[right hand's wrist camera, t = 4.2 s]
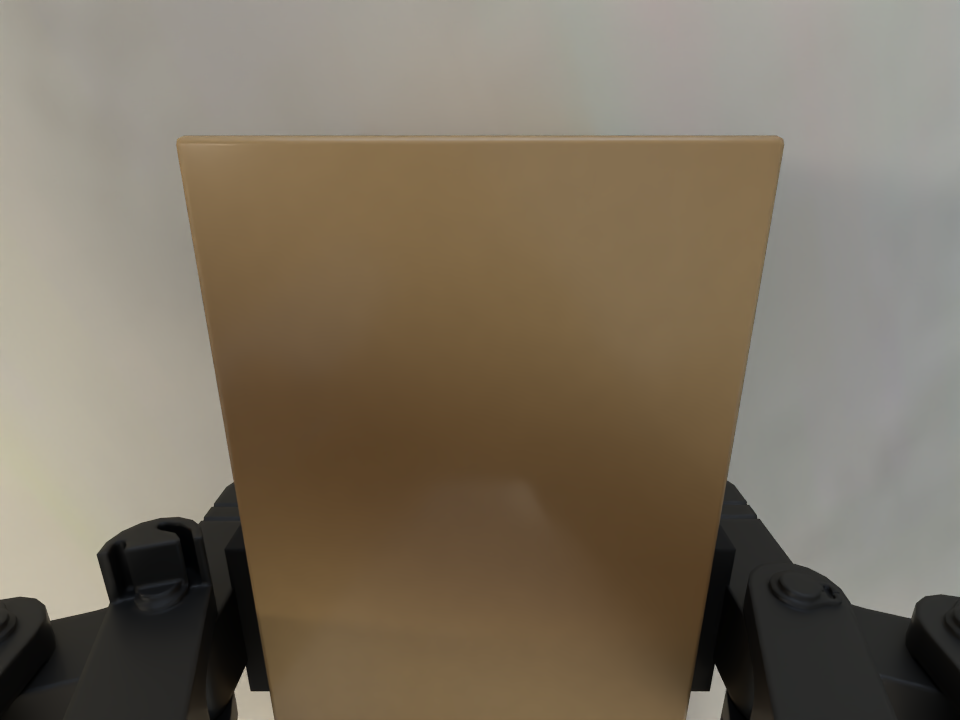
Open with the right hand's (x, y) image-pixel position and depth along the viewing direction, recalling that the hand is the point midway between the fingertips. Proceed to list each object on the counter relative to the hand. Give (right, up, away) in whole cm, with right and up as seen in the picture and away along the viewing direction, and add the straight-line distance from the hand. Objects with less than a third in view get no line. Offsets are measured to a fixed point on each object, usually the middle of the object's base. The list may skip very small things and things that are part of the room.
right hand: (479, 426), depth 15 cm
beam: (0, -24, +9) cm, 26 cm away
